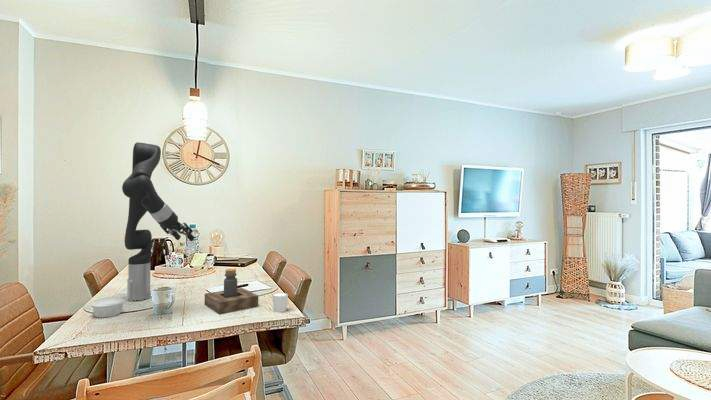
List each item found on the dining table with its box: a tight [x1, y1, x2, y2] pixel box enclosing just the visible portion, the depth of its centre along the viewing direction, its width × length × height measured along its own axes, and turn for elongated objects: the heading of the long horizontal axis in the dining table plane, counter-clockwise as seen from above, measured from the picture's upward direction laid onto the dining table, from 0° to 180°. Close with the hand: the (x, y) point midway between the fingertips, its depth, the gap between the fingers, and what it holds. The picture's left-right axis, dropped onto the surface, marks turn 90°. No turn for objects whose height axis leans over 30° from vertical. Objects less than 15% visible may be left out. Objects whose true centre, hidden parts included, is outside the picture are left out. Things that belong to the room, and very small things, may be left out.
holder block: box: [203, 287, 259, 315], centre depth 171 cm, size 18×18×5 cm
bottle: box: [223, 268, 238, 298], centre depth 171 cm, size 6×6×15 cm
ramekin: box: [91, 298, 125, 319], centre depth 157 cm, size 11×11×5 cm
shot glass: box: [272, 292, 289, 313], centre depth 165 cm, size 7×7×7 cm
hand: (186, 239), depth 168 cm, fingers open, 8 cm apart
